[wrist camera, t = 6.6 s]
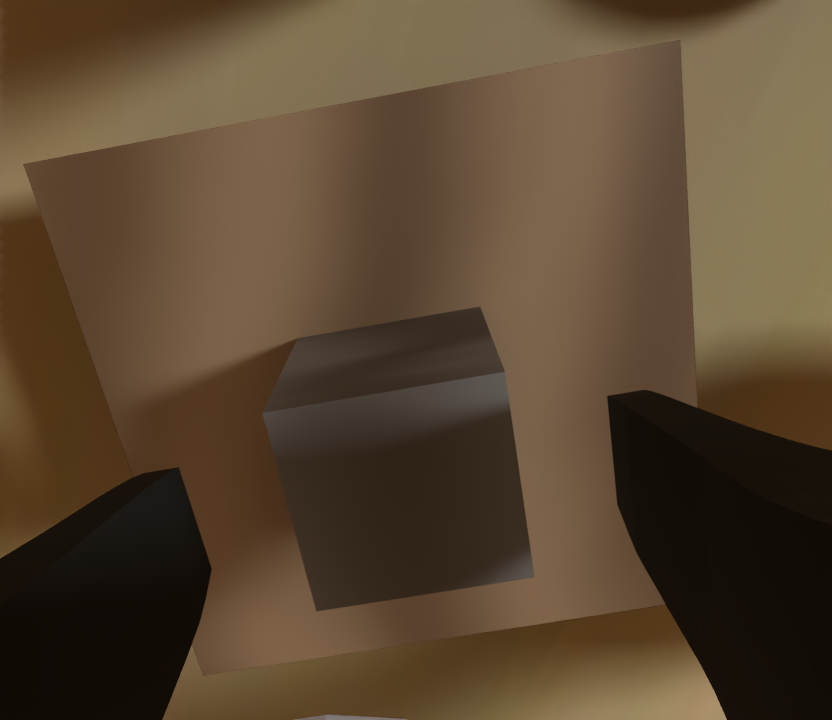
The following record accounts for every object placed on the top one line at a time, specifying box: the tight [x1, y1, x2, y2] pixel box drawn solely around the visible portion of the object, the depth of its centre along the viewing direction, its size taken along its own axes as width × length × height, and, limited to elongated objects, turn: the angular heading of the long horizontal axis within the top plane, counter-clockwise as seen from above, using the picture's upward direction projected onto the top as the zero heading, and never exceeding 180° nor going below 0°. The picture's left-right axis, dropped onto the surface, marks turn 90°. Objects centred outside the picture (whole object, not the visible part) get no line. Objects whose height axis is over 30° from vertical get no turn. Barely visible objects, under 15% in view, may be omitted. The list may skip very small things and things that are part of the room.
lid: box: [24, 40, 698, 676], centre depth 14 cm, size 13×13×5 cm
